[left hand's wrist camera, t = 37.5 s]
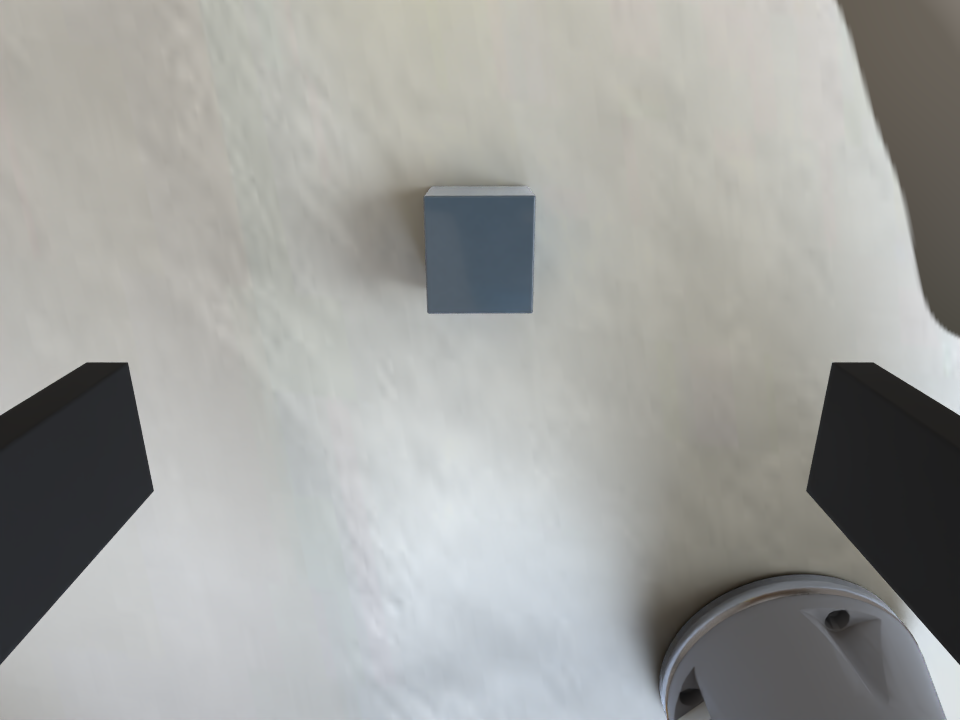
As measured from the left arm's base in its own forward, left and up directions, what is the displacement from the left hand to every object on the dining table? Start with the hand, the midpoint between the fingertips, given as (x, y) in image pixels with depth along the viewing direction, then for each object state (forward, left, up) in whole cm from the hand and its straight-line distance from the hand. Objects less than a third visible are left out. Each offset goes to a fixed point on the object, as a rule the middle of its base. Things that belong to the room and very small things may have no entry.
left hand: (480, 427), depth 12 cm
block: (0, 0, -20) cm, 20 cm away
